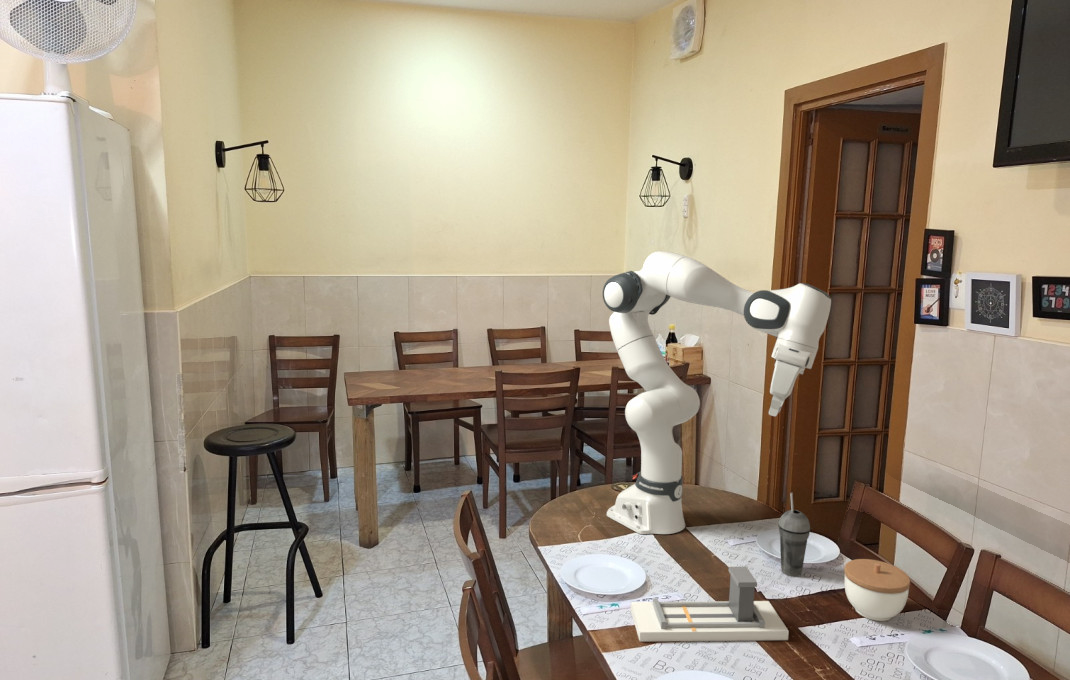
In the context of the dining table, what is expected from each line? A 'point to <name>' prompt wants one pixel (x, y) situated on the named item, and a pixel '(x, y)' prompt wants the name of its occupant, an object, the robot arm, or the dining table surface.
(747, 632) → the fader console
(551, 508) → the dining table surface
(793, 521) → the beverage cup
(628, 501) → the robot arm
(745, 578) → the fader tab
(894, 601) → the lidded bowl
